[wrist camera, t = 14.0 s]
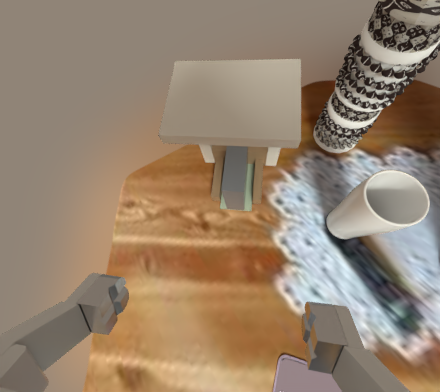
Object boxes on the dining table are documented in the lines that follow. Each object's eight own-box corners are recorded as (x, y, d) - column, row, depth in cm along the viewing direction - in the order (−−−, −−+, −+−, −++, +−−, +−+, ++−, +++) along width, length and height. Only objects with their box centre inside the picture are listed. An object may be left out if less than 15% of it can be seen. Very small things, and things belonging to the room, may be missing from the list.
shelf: (273, 213, 40) (300, 154, 20) (199, 207, 42) (155, 148, 22) (276, 156, 44) (301, 58, 24) (206, 153, 46) (175, 61, 26)
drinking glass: (320, 204, 40) (360, 167, 26) (360, 206, 39) (425, 169, 25) (321, 242, 38) (366, 224, 24) (364, 245, 37) (437, 229, 23)
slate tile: (244, 210, 41) (243, 192, 31) (227, 208, 41) (221, 190, 32) (248, 166, 44) (248, 137, 34) (231, 165, 44) (227, 136, 35)
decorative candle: (353, 161, 42) (489, 20, 18) (304, 145, 44) (370, 1, 20) (366, 123, 44) (502, -47, 21) (319, 110, 46) (394, -57, 23)
